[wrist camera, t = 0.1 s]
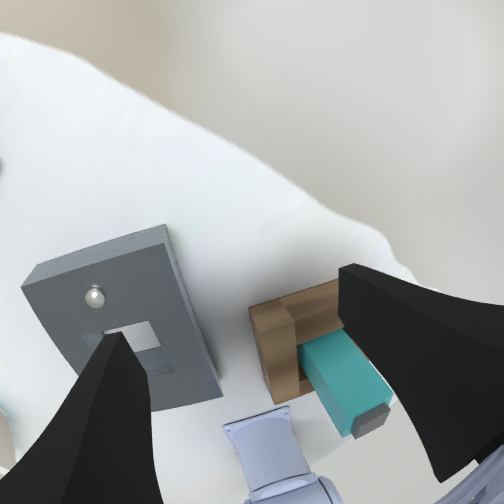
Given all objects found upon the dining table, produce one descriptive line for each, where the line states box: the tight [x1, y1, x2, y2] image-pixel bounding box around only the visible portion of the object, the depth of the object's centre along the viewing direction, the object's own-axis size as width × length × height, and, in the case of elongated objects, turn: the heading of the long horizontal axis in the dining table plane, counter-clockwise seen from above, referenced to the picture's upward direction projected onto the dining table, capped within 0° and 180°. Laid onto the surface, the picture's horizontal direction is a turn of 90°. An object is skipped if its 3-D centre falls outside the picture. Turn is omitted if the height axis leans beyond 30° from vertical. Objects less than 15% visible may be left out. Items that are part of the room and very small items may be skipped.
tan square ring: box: [249, 278, 369, 405], centre depth 23 cm, size 10×10×3 cm
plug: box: [296, 328, 393, 439], centre depth 20 cm, size 4×4×11 cm
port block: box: [21, 224, 223, 412], centre depth 18 cm, size 14×10×3 cm
